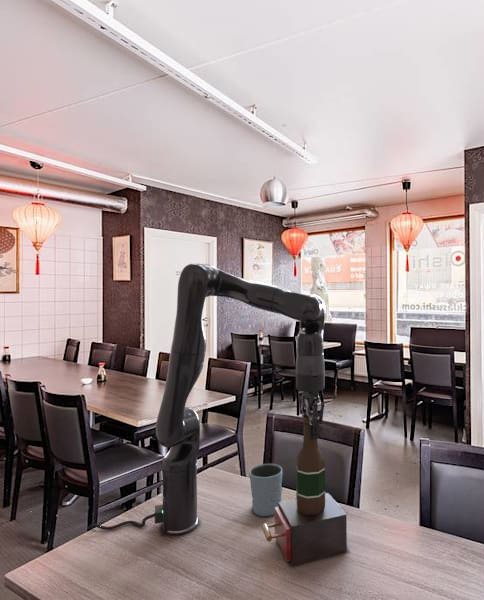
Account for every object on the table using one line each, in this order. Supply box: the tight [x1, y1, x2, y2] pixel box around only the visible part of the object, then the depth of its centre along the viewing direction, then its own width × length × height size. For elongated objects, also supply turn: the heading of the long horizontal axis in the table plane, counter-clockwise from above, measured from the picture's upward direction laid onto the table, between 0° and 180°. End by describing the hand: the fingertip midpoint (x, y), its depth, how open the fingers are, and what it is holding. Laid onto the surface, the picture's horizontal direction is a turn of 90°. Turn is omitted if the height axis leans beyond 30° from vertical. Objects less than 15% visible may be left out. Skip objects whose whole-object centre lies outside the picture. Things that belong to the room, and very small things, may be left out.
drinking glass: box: [249, 463, 283, 517], centre depth 127 cm, size 10×10×12 cm
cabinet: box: [278, 492, 348, 566], centre depth 109 cm, size 15×13×10 cm
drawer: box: [261, 507, 291, 562], centre depth 107 cm, size 18×11×8 cm, turn 111°
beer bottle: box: [295, 416, 326, 515], centre depth 108 cm, size 8×8×24 cm
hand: (310, 435), depth 108 cm, fingers open, 4 cm apart
